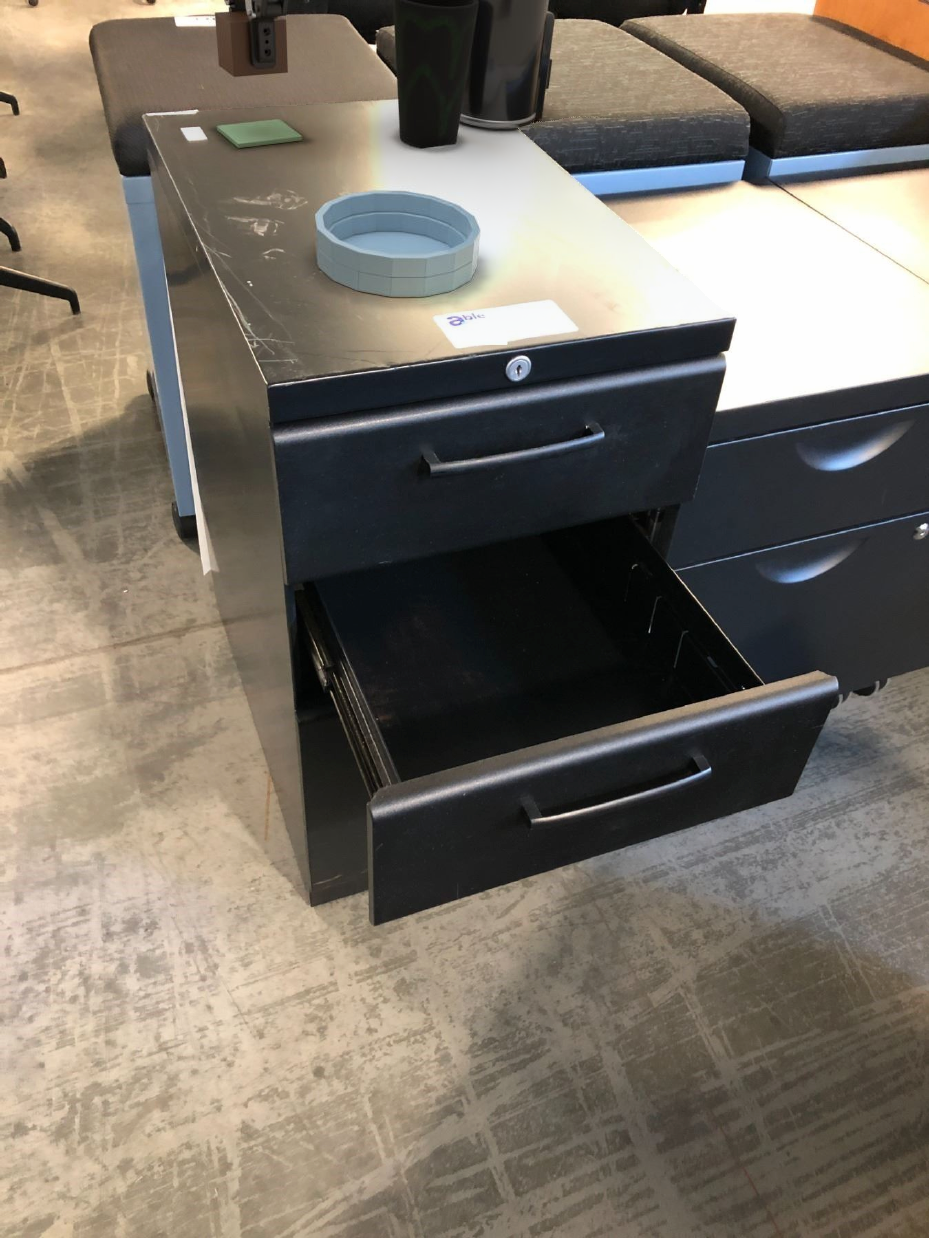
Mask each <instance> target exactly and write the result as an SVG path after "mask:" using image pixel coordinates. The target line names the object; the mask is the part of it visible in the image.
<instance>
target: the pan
mask: <svg viewBox="0 0 929 1238" xmlns="http://www.w3.org/2000/svg"><path fill="white" fill-rule="evenodd" d="M480 239H481V228H480V226H479V223H478V221H477V219H476V216H475V215H473V214H472V213H470V212H469V211H467V210H466V209H465V208H464V207H462V206H460V205H459V204H457V203H454V202H451V201H449V200H445V199H442V198H440V197H437V196H435V195H431V194H426V193H425V194H424V193H420V192H419V193H418V192H414V191H413V192H412V191H406V190H383V189H381V190H380V189H377V190H376V189H373V190H367V191H366V190H365V191H359V192H353V193H346V194H343V195H341V196H338V197H336V198H334V199H331V200H329V201H326V202H325V203H323V205H322V206H321V207H320V208H319V209H318V210H317V211H316V213H314V241H315V243H314V245H315V246H314V247H315V257H316V263H317V267H318V269H320V270H321V271H322V272H323V273H324V274H325V275H326V276H327V277H328V278H329V279H330V280H332V281H334V282H335V283H338V284H340V285H342V286H345V287H348V288H350V289H352V290H355V291H357V292H361V293H365V294H366V293H367V294H372V295H379V296H384V297H389V298H425V297H429V296H435V295H439V294H444V293H448V292H449V293H450V292H452V291H454V290H456V289H458V288H459V287H461V286H463V285H465V284H466V283H469V282H470V281H471V280H472V278H473V276H474V274H475V271H476V270H477V268H478V262H479V261H478V260H479V248H480Z"/></svg>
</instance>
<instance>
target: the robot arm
mask: <svg viewBox="0 0 929 1238" xmlns="http://www.w3.org/2000/svg"><path fill="white" fill-rule="evenodd" d="M223 1H224V4H225V5H226V6H228V12H234V11H247V16H248V19H247V22H248V37H249V55H250V63H251V65H252V66H253V67H255V68H256V69H265V68H273V67H274V66H275V65H276V46H275V22H274V20H275V19H278V17H279V16H281V17H286V16H287V15H288V9H289V2H290V0H223ZM478 2H479V4H478V11H477V17H476V23H475V29H474V36H473V42H472V48H471V54H470V61H469V67H468V73H467V79H466V86H465V92H464V98H463V104H462V111H461V117H460V122H461V123H462V124H463V123H464V124H467V125H469V126H470V125H471V126H475V127H479V128H486V129H494V130H495V129H496V130H497V129H498V130H507V129H510V130H511V129H518V128H519V129H520V128H523V127H526V126H529V125H531V124H533V123H534V122H535V121H536V120H537V121H538V120H542V119H543V114H544V106H545V101H546V100H545V99H546V93H547V92H546V91H547V90H548V89H549V88H550V82H551V73H552V66H553V59H552V58H551V54H552V53H551V52H552V43H553V38H554V29H555V22H556V18H555V14H554V13H553V12H551V11H549V3H550V0H478Z"/></svg>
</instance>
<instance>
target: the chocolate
mask: <svg viewBox="0 0 929 1238" xmlns="http://www.w3.org/2000/svg"><path fill="white" fill-rule="evenodd" d="M214 19H215V20H214V21H215V34H216V46H217V58H218V60H217V61H218V66H219V67H220V68H221V69H223V70H224V71H225V72H226V73H228V74H229V75H231V76H232V77H233V78H239V77H251V76H252V77H253V76H265V75H276V74H288V73H289V66H288V65H289V63H288V38H287V37H288V35H287V34H288V33H287V31H288V30H287V19H286V18H284V17H283V16H279V17H278V19H275V20H274V22H275V46H276V65H275V66H274V67H273V68H265V69H256V68H255V67H253V66H252V65H251V63H250V55H249V37H248V22H247V19H248V16H247V11H234V12H229V11H220V12H219V11H217V12H216V11H215V12H214Z"/></svg>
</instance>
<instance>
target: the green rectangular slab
mask: <svg viewBox="0 0 929 1238" xmlns="http://www.w3.org/2000/svg"><path fill="white" fill-rule="evenodd" d="M216 131H217V132H218V133H220V135H222V136H224V137H225V138H226V139H227V140H228V141H229V142H231V143H232V144H233V145H234V146H235V147H236V148H238V149H243V148H251V147H258V146H259V147H260V146H267V145H275V144H283V143H284V144H285V143H293V142H299V141H303V136H302V135H301V134H300V133H298V132H297V131H296V130H295V129H293V128H292V127H290V126H289V125H288V124H287V123H286V122H284V121H282V120H281V119H280V118H277V119H266V120H258V121H248V122H239V123H229V124H220V125H217V126H216Z"/></svg>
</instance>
